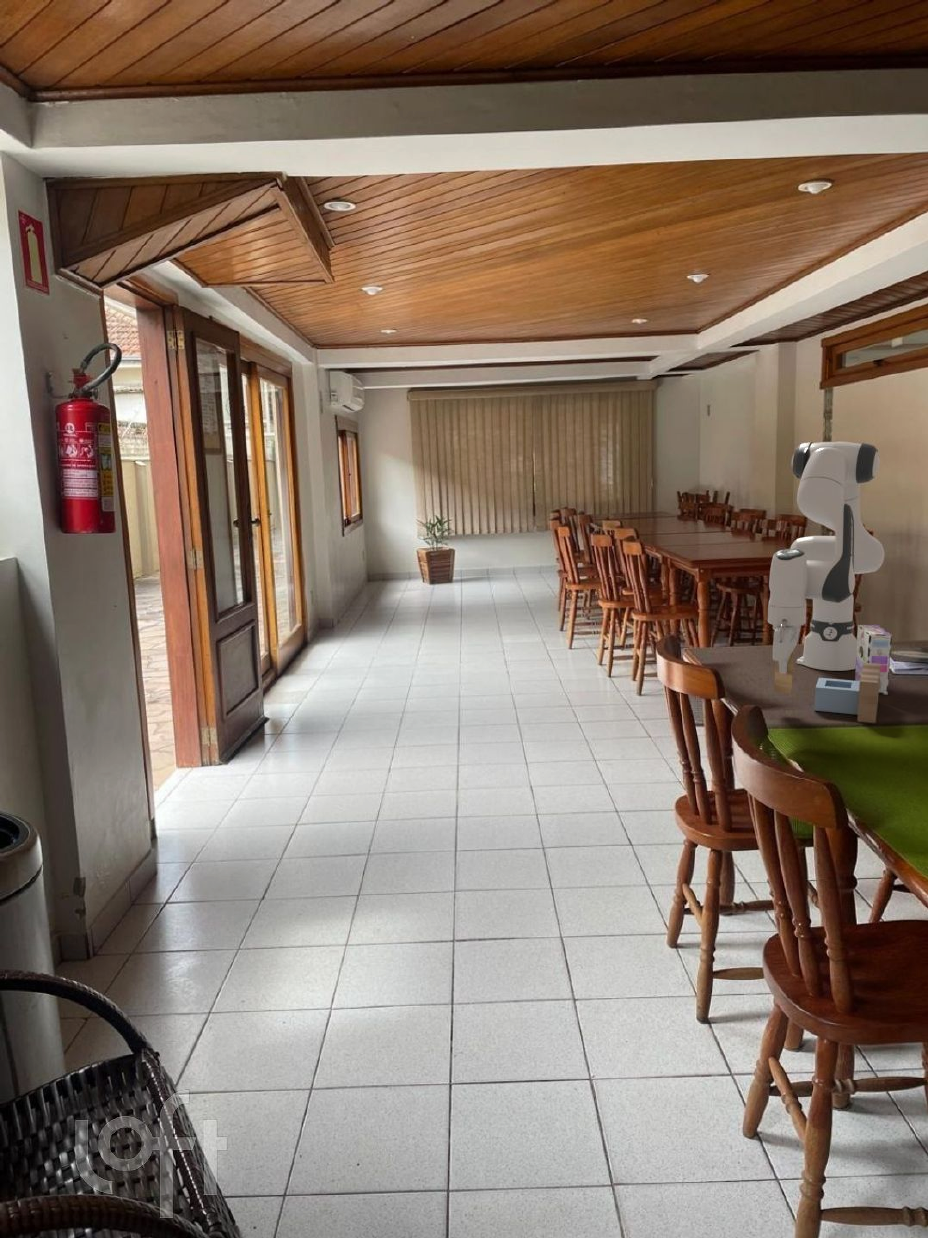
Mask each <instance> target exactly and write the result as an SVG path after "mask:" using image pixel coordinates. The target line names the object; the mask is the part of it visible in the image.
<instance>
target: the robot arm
mask: <svg viewBox="0 0 928 1238" xmlns="http://www.w3.org/2000/svg"><path fill="white" fill-rule="evenodd" d="M879 455H880V454H879V450H878V449H877V448H876V446H874V445H873V444H869V443H865V442H863V443H856V442H850V441H839V440H838V441H820V442H813V441H808V442H803V443H801V444H799V445H798V446H797V447H795V449H794V452H793V455H792V458H791V469H792V473H793V475H794V476H795V477H796V478H797V479H799V480H800V482H799V485H798V489H797V495H796V505H797V507H798V509H799V511H800V512H801V513H802V514H803V515H804V517H807V519H809V520H811V521H812V522H814V523H817V524H819V525H822V526H824V527H825V528H827V529H830V530H832V531H833V532H834V533H835V535H810V536H804V537H800V538H799V537H798V538H796V539H795V540H794V541H793V543H792V544H791V546H790V548H786V549H781V550H778V551H775V553H774V554H773V556H772V559H771V564H770V569H769V570H770V571H769V581H768V588H769V591H770V593H769V600H768V607H767V623H768V624H770V625H772V630H774V634H773V643H772V659H773V661H778V662H779V673H780V674H786V673H787V663H788V660H789V658H790V656H791V654H792V652H793V650H795V648H796V646H797V644H798V642H799V637H800V630H801V626H805V625H806V622H807V621H806V620H807V600H806V599H808V600H812V617H811V619H810V627H809V629H810V632H809V633H808V634H807V635H806V636H805V637H804V643H803V655H802V656H801V657H799V658H797V659H796V664H799V665H803V666H806V667H807V668H811V669H817V670H823V671H830V672H831V671H833V672H834V671H836V672H837V671H839V672H842V671H850V670H852V671H853V670H856V650H857V637H855V635H854V634H853V633H854V632H855V631H854V628H855V621H854V618H853V617H854V602H855V601H854V600H855V599H854V598H855V597H854V595H853V594H854V590H855V587H856V577H855V575H860V574H861V575H862V574H867V573H869V574H870V573H874V572H876V571H878V570H879V569H881V566H882V565H883V563H884V559H885V550H884V546H883V544H882V543H881V542H880V541H879V540H878V539H877V538H876V537H874V536H873V535H872V534H870V533H869V531H868V530H866V528H865V526H864V525H863V522H862V518H861V490H862V489H861V488H862V487H861V484H864V483H869V482H871V481H872V480H873V479H874V478H875V476H876V474H877V473H878V471H879V468H880V464H881V459H880V456H879Z"/></svg>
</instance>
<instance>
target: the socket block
mask: <svg viewBox="0 0 928 1238" xmlns="http://www.w3.org/2000/svg"><path fill="white" fill-rule="evenodd" d="M859 685H860V681H855V680H851V679H850V680H849V679H838V678H825V677H819V678H818V680H817V682H816V685H815V688H814V689H815V690H814V691H815V692H814V711H817V712H827V713H836V714H837V713H839V714H847V715H848V714H849V715H856V716H858V701H859Z"/></svg>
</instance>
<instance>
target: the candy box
mask: <svg viewBox="0 0 928 1238" xmlns="http://www.w3.org/2000/svg"><path fill="white" fill-rule="evenodd" d="M856 630H857V632H856V633H857V635H856V639H857V650H856V669H854V670H855V672H854V681H860V677H861V673H862V668H863V663H864V662H865V663H878V664H880V680H879V695H886V696H887V695H888V694H889V680H890V667H891V652H892V639H893V635H892V634H891V633H890V632H888V631H886V630H885V629H884V628H883V627H881V625H880V624H879V625H878V624H858V625H857V628H856Z"/></svg>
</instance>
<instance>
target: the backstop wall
mask: <svg viewBox="0 0 928 1238" xmlns="http://www.w3.org/2000/svg"><path fill="white" fill-rule="evenodd" d="M879 680H880V664H878V663H865V662H864V663H863V668H862V673H861V677H860V685H859V701H858V715H857V719H856V721H857V722H860V723H862V722H863V723H868V724H869V723H872V724H876V722H877V713H878V704H879V696H880V694H879Z"/></svg>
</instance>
